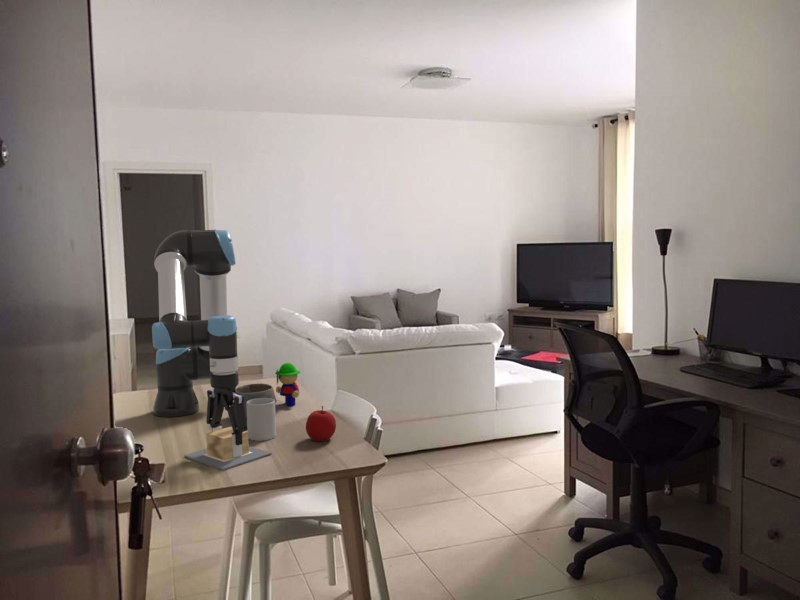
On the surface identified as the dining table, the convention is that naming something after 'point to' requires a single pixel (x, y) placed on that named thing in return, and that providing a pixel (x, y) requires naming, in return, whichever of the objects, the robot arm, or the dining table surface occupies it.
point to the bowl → (255, 392)
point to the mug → (261, 419)
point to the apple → (320, 425)
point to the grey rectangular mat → (230, 463)
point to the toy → (288, 383)
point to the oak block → (224, 443)
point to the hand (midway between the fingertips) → (227, 452)
